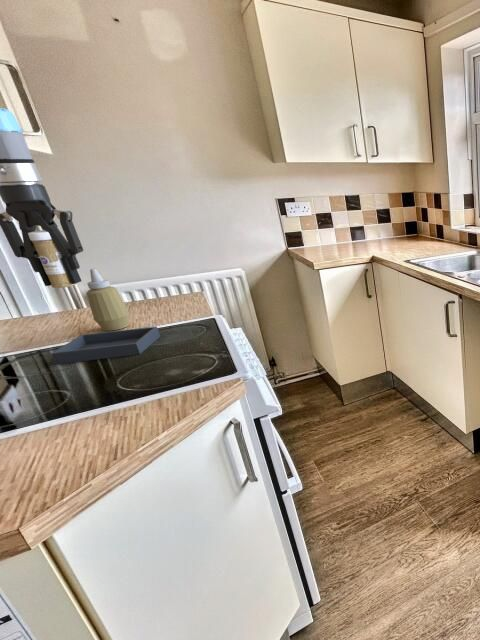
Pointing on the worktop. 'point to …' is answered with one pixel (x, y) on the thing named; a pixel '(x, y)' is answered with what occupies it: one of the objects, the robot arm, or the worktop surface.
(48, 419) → the worktop surface
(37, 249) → the sprinkles bottle
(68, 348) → the serving tray
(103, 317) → the squeeze bottle
